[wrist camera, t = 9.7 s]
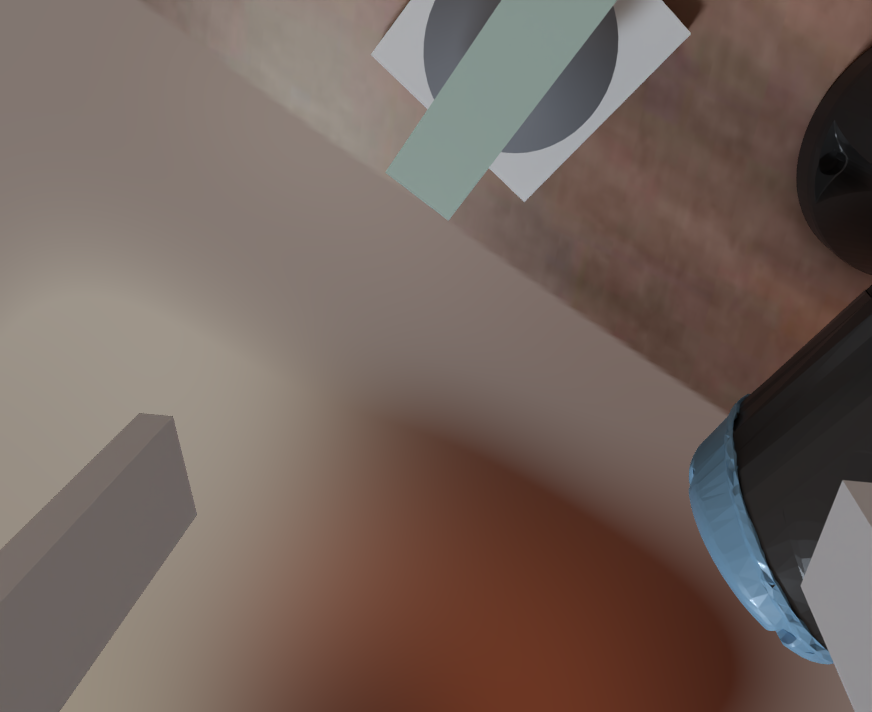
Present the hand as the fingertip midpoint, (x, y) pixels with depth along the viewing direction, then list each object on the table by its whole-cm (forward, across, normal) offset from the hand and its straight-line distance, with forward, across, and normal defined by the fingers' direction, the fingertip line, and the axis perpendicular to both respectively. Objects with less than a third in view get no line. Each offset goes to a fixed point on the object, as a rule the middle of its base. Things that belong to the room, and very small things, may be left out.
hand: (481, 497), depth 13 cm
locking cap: (+26, -1, +7) cm, 27 cm away
